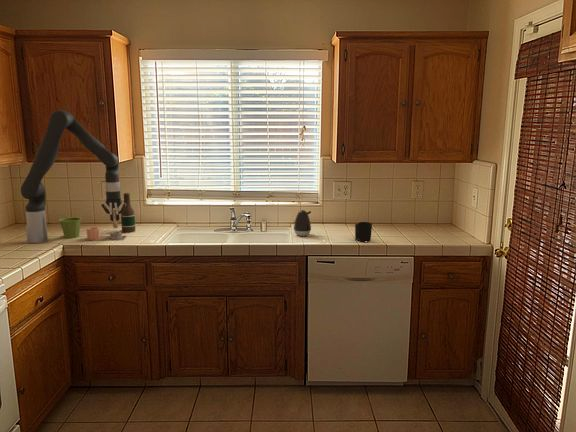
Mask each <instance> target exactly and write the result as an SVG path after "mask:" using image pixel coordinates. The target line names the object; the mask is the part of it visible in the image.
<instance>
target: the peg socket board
mask: <svg viewBox="0 0 576 432" xmlns="http://www.w3.org/2000/svg"><path fill="white" fill-rule="evenodd" d="M122 233H123V232H122V231H113V232H110V235H102V236H101V235H100V239H97V240H88V239H87V238H85V239H83V242H107V241H110V242H111V241H124V240H125V239H126V238H127V237H128V235H123V234H122Z"/></svg>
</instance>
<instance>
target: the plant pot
mask: <svg viewBox="0 0 576 432" xmlns="http://www.w3.org/2000/svg"><path fill="white" fill-rule="evenodd" d="M82 218H83V217H79V216H78V217H75V216H73V217H72V216H71V217H64V218H61V219H58V222H59V223H60V226H61V229H62V232H63V236H64V239H77V238H79V237H80V231H81V222H82Z"/></svg>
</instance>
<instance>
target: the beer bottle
mask: <svg viewBox="0 0 576 432" xmlns="http://www.w3.org/2000/svg"><path fill="white" fill-rule="evenodd" d="M122 196H123V203H126V206H125V208H124V210H123V212H122V213H120V222H121V233H124V234H126V233H127V234H130V233H135V232H136V217H135V216H136V215H135V211H134V209H133V207H132V206H131V205H132V204H131V198H130V197H131V193H129V192H126V193H125V192H124V193H123V194H122Z"/></svg>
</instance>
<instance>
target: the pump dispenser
mask: <svg viewBox="0 0 576 432" xmlns="http://www.w3.org/2000/svg"><path fill="white" fill-rule="evenodd" d="M311 213H312V210H309V211H306V210H303V209H302V210H301V209H300V210H299V211H298V212H297V215H296V216H295V219H294V224H293V230H294V233H295V235H296V236H298V235H299V236H298V237H307V236H309V234H310V232H311V230H312V225H311V219H310V217H309V214H311Z"/></svg>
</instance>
